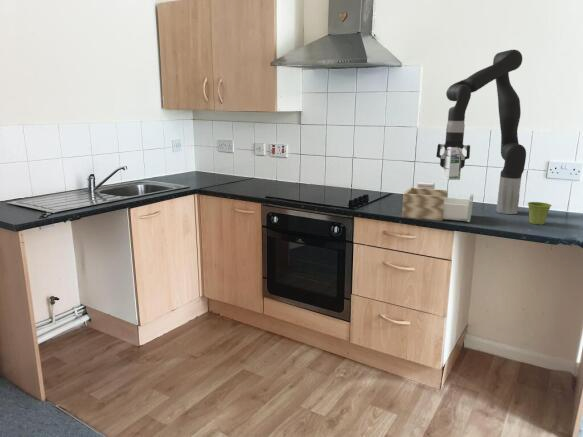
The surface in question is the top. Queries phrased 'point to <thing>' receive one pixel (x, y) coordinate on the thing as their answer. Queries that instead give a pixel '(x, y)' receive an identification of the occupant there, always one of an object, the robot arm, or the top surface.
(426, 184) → the ink box
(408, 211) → the caddy
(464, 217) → the drawer
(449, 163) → the syrup box
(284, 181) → the top surface
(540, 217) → the plant pot
